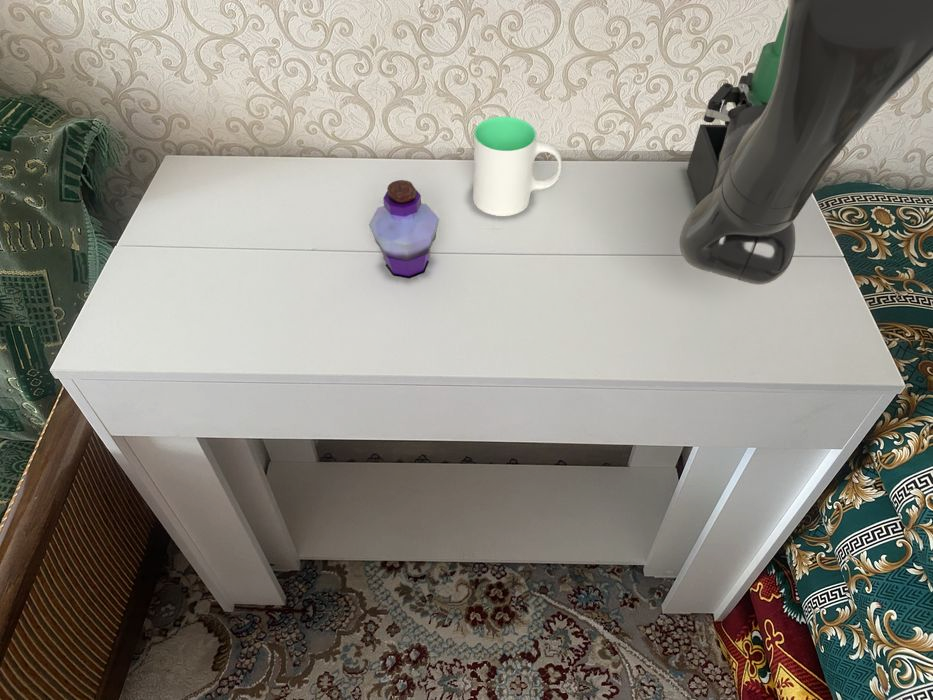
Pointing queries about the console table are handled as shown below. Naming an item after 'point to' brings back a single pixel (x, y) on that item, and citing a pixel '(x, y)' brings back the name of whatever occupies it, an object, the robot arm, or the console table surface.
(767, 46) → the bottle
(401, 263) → the potion bottle
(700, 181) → the bin
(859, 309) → the console table surface
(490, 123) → the mug
